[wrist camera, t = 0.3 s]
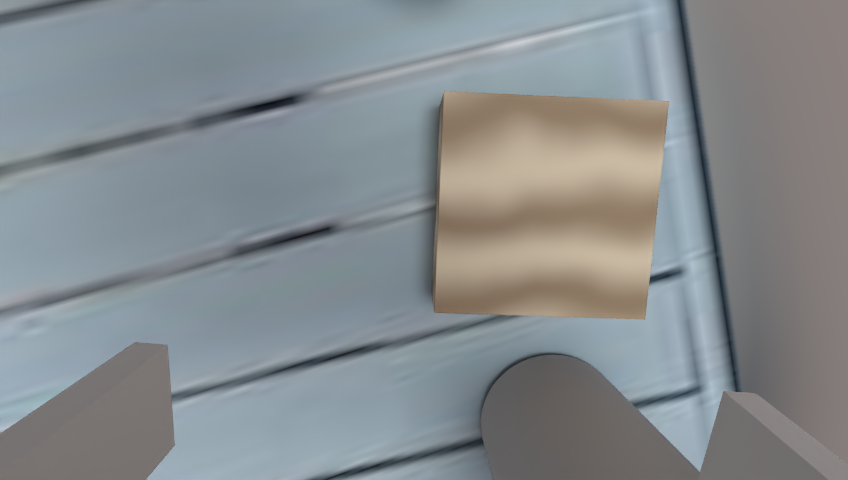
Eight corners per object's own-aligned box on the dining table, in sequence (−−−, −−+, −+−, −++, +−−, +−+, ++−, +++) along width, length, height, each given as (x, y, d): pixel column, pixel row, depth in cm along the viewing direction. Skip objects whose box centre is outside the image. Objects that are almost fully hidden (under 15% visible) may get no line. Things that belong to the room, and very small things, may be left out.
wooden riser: (440, 105, 34) (444, 91, 29) (632, 114, 34) (669, 101, 29) (432, 295, 36) (434, 312, 31) (613, 301, 36) (645, 319, 31)
